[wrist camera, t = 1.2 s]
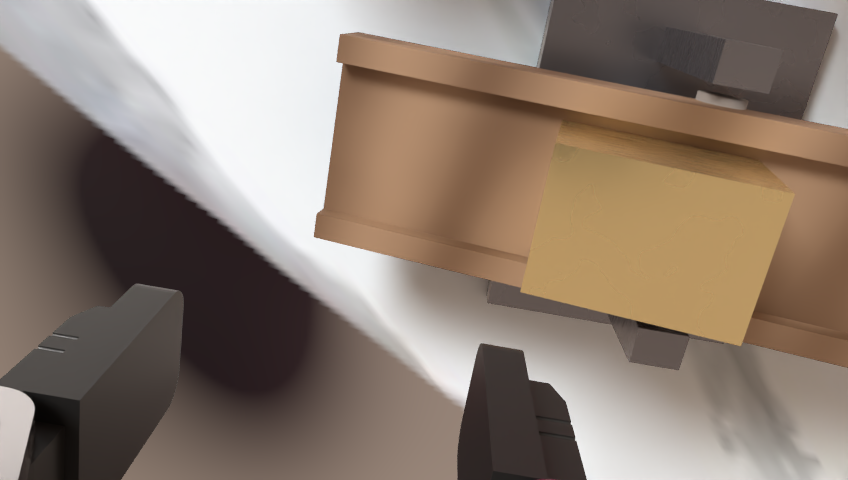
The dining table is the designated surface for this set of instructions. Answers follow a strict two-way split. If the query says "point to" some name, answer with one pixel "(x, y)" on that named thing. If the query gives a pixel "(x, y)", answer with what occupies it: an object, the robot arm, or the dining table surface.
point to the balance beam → (529, 165)
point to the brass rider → (656, 231)
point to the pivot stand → (679, 91)
